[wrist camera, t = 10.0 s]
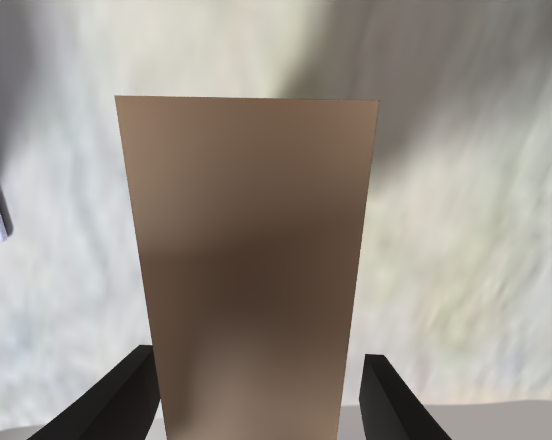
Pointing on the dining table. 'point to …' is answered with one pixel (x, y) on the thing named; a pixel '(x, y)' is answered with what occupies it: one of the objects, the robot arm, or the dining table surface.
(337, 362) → the walnut block
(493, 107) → the dining table surface
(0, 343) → the dining table surface
